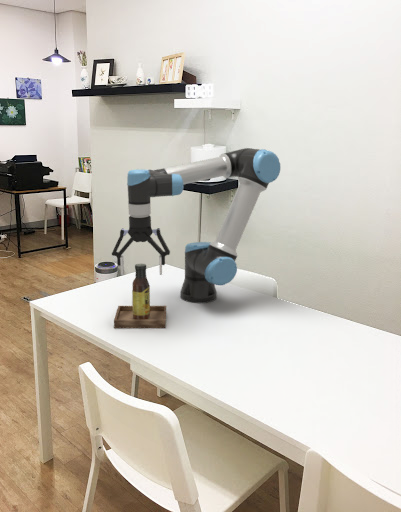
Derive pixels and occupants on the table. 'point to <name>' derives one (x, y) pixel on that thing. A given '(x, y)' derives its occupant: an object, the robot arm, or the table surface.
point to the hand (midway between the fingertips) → (141, 274)
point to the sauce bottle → (141, 294)
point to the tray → (127, 321)
